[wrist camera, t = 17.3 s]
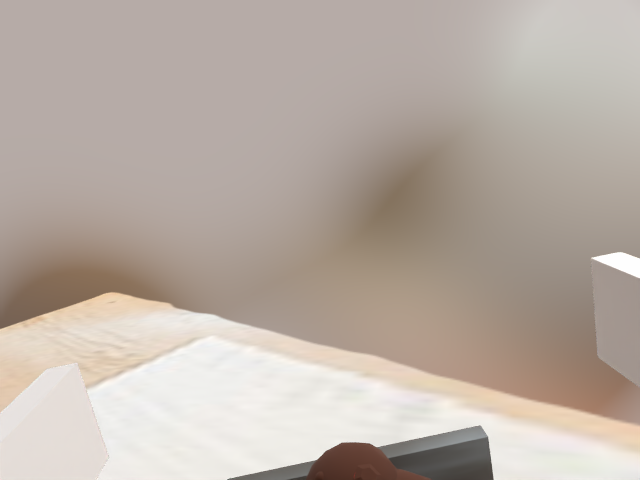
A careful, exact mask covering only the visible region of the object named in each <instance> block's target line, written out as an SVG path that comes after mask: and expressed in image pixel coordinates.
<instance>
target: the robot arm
mask: <svg viewBox="0 0 640 480" xmlns="http://www.w3.org/2000/svg"><path fill="white" fill-rule="evenodd" d="M591 267H592V281H593V295H594V310H595V325H596V339H597V354H598V357H599V358H600V359H602V360H603V361H604V362H606V363H607V364H608V365H610V366H611V367H612V368H614V369H615V370H616V371H618V372H619V373H620V374H622V375H623V376H625V377H626V378H627V379H629V380H630V381H631V382H633V383H634V384H635V385H637V386H638V387H640V259H639V258H636V257H633V256H630V255H628V254H625V253H622V252H618V253H613V254H609V255H604V256H598V257H593V258H591ZM108 459H109V455H108V452H107V449H106V446H105V443H104V440H103V437H102V434H101V431H100V429H99V426H98V423H97V420H96V417H95V414H94V411H93V408H92V405H91V402H90V399H89V396H88V393H87V390H86V387H85V384H84V381H83V378H82V375H81V373H80V370H79V367H78V364H77V363H73V364H68V365H63V366H59V367H54V368H49V369H46V370H45V371H44V372H43V373H42V374H41V375H40V376H39V377H38V378H37V379H36V380H35V381H33V382H32V383H31V384H30V385H29V386H28V387H27V388H26V389H25V390H24V391H23V392H22V393H21V394H20V395H19V396H18V397H17V398H15V399H14V400H13V401H12V402H11V403H10V404H9V405H8V406H7V407H6V408H5V409H4V410H3V411H2V412H1V413H0V480H96V479H97V478H98V476H99V474H100V472H101V471H102V469H103V467H104V466H105V464H106V462H107V460H108Z"/></svg>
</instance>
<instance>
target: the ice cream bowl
mask: <svg viewBox="0 0 640 480" xmlns="http://www.w3.org/2000/svg"><path fill="white" fill-rule="evenodd" d="M306 480H432V479H430V478H427V477H424V476H421V475H417V474H414V473H411V472H408V471H405V470H402V469H396V467H395V466H394V465H393V464H392V463H391V461H390V460H389V459H388V458H387V457H386V455H385V454H384V453H383V452H382V450H380V449H378V448H377V447H375V446H373V445H371V444H369V443H356V442H354V443H341V444H339V445H337V446H335V447H333V448H331V449H329V450H327V451H326V452H325V453H324V454H323V455H322V456H321V457H320V458H319V459H318V460H317V461H316V462H315V463H314V464H313V465H312V466H311V469H310V471H309V473H308V475H307V478H306Z"/></svg>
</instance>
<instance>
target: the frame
mask: <svg viewBox="0 0 640 480" xmlns="http://www.w3.org/2000/svg"><path fill="white" fill-rule="evenodd" d="M377 448H378V449H380V450H382V452H383V453H384V454H385V455H386V457H387V458H388V459H389V460H390V461H391V463H392V464H393V465H394V466H395V467H396V469H402V470H405V471H408V472H411V473H414V474H417V475H421V476H424V477H427V478H430V479H432V480H494V479H493V472H492V464H491V456H490V449H489V441H488V436H487V435H486V433H485V432H484V430H483V429H482V427H481V426H475V427H471V428H466V429H461V430H456V431H452V432H447V433H442V434H438V435H433V436H428V437H423V438H419V439H414V440H409V441H405V442H400V443H395V444H391V445H386V446H381V447H377ZM316 461H317V460H315V461H311V462H306V463H301V464H296V465H292V466H287V467H282V468H278V469H273V470H268V471H263V472H259V473H254V474H249V475H245V476H240V477H235V478H231V479H227V480H306V478H307V475H308V473H309V471H310V469H311V466H312V465H313V464H314V463H315V462H316Z"/></svg>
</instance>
